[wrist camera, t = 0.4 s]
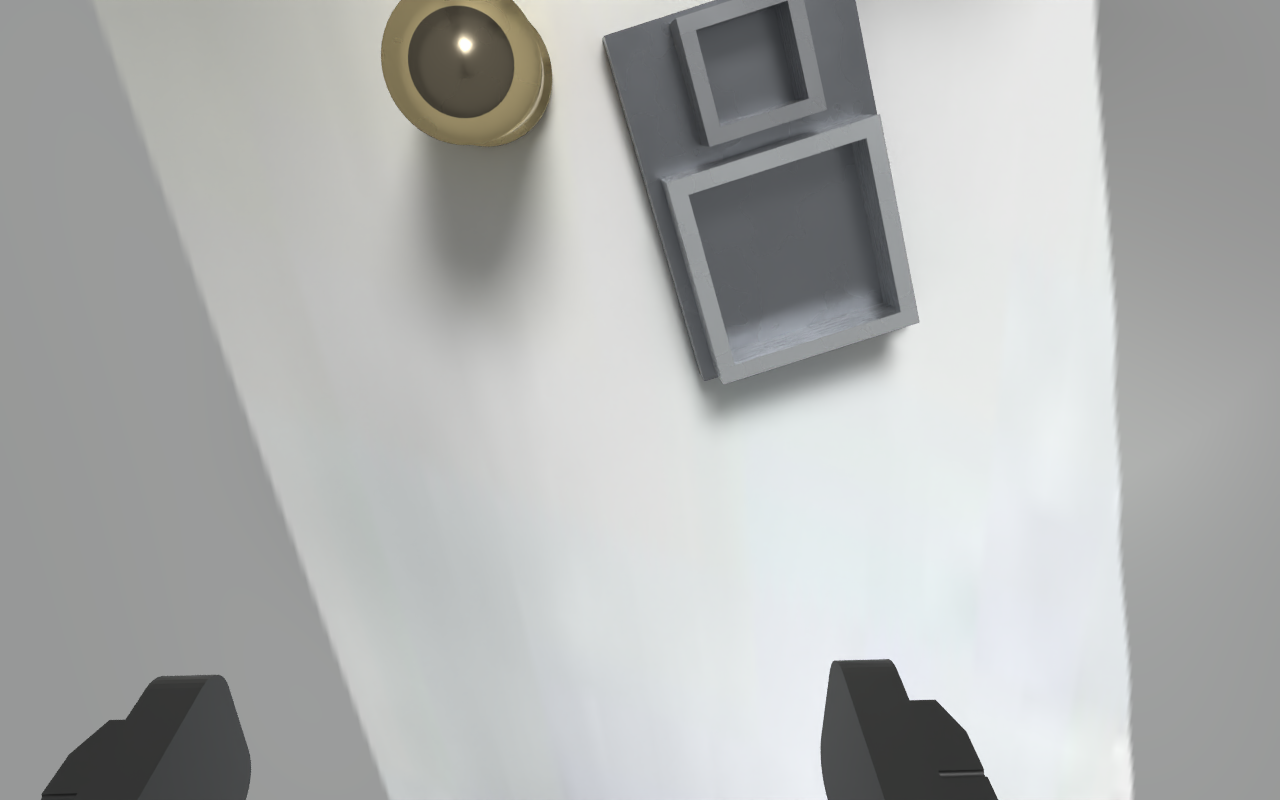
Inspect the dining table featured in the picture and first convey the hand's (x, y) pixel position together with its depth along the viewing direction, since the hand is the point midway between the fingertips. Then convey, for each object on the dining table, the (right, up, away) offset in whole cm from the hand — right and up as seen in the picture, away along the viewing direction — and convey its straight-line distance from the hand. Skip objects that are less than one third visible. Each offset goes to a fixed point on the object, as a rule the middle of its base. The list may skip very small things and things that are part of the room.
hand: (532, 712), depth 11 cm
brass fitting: (-5, +17, +23) cm, 29 cm away
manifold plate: (+7, +14, +25) cm, 30 cm away
